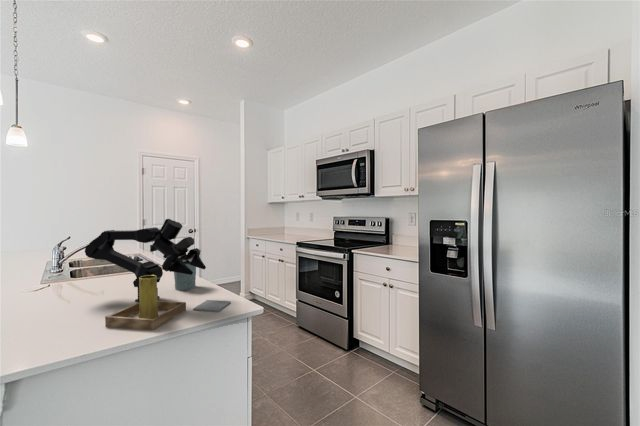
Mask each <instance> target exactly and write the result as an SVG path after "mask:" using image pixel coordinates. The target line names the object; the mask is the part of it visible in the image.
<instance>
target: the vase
mask: <svg viewBox="0 0 640 426" xmlns="http://www.w3.org/2000/svg"><path fill="white" fill-rule="evenodd" d="M157 288H158V282H157V276H156V275H146V276H141V277H139V312H138V317H137V318H146V319H154V318H156V317H157V316H159V315H160V314H159V310H158V301H159V300H158V299H159V298H157Z"/></svg>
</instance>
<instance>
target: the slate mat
mask: <svg viewBox="0 0 640 426" xmlns="http://www.w3.org/2000/svg"><path fill="white" fill-rule="evenodd" d="M230 304H231V301H230V300H218V299H217V300H214V299H206V300H204V301H203V302H201V303H199V304H198V305H197V306H195V307H193V309H192V311H198V312H199V311H200V312H214V313H216V312H217V313H218V312H221V310H223V309H224V308H225V307H227V306H228V305H230Z"/></svg>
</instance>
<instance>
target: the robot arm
mask: <svg viewBox="0 0 640 426" xmlns="http://www.w3.org/2000/svg"><path fill="white" fill-rule="evenodd" d="M183 227H184V226H183V224H182V223H180V222H178V221H176V220H174V219H171V218H166V219H165V220H164V221H163V224H162V226H161V228H158V227H157V226H156V227H154V226H153V227H146V228H140V229H134V230H115V229H111V230H104V231H102V232H101V233H100V234H99V235H98V236H97V237H95V238H94V239H92V240H91V241H90V242H89V244H87V245H86V246H85V248H84V254H85V255H86V257H87V258H89V259H93V260H103V261H106V262H108V263H111V264H114V265H115V266H117V267H120V268H121V269H124V270H126V271H129V272H131V273H133V274H134V276H135V277H136V278H135V279H134V280H133V282H132V284H133V286H134V287H133V288H137V298H136V299H135V300H134V302H136V303H138V302H139V277H141V276H146V275H156V276H157V283H159V282H160V281H161V278H162V277H163V274H164V272H163V270H164V271H165V272H171V273H172V272H173V273H174V272H178V273H184V274H189V275H192V274H193V272H192V271H191V270H190V269H189V268H188V267H187V266H186V265H185V264H184V263H183V261H186V262H187V263H190V264H189V265H192V266H195V267H196V268H199V269H202V270H206V268H207V267H206V265H205V264H204V262H203V260H202V259H201V256H200V255H201V249H199V248H198V247H196V248H192V249H189V248H190V247H191V246H193V245H195V238H193V237H192V236H187V237H184V238H182V239H181V240H180V241H179V242H177V243H174V242H173V241H172V240H175V239H176V238H177V236H178V235H179V233H180V232H181V230H182V228H183ZM116 241H136V242H137V243H138V242H139V243H144V244H148V243H152V242H153V244H150V245H149V252H150V253H153V252H157V251H158V252H159V253H161V255H162V254H163V256H162V257H163V259H164V262H163V263H162V265H161V266H160V263H155V262H154V261H152V260H151V261H150V260H148V261H146V262H141V261H138V260H137V259H135V258H132V257H129V256H127V255H126V254H123V253H121V252H119V251H116V250H115V249H114V245H115V242H116ZM158 290H159V289H158V287H157V299H159V298H160V295H159V292H158Z"/></svg>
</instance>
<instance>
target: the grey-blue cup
mask: <svg viewBox="0 0 640 426" xmlns="http://www.w3.org/2000/svg"><path fill="white" fill-rule="evenodd" d="M183 263H184V264H185V265H186V266H187V267H188V268H189V269H190V270H191V271H192V272H193V274H192V275H189V274H184V273H178V272H173V277H174V288H175V290H176V291H190V290H193V289H195V288H196V275H197V267H195V266H192V265H189V264H190V263H187V262H186V261H183Z"/></svg>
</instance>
